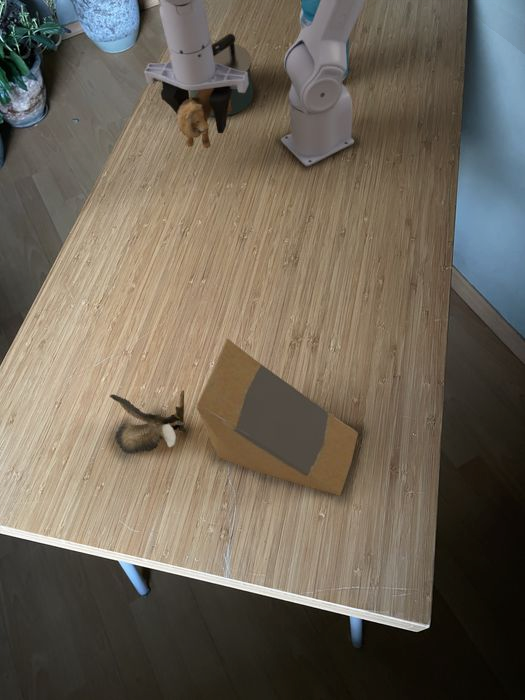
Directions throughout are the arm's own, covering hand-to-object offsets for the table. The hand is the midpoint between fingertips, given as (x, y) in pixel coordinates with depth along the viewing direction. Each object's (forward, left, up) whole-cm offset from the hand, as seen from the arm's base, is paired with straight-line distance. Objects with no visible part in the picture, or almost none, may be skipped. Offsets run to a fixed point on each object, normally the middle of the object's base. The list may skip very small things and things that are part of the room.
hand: (206, 127), depth 89 cm
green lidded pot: (-10, -15, -8) cm, 20 cm away
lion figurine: (0, 0, -2) cm, 2 cm away
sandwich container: (+16, +47, -9) cm, 50 cm away
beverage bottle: (-28, -9, -9) cm, 31 cm away
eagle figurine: (+29, +36, -9) cm, 47 cm away
